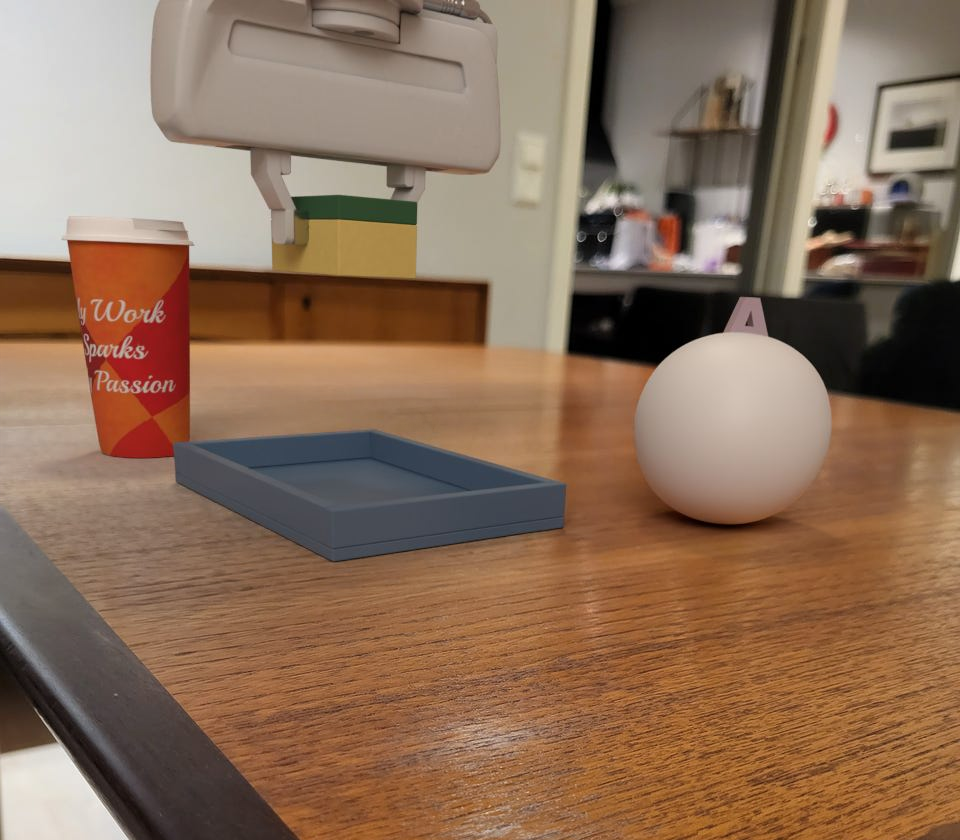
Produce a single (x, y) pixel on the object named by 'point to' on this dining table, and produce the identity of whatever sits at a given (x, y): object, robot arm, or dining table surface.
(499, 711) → the dining table surface
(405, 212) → the sponge
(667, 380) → the ornament
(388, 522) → the tray
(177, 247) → the coffee cup
